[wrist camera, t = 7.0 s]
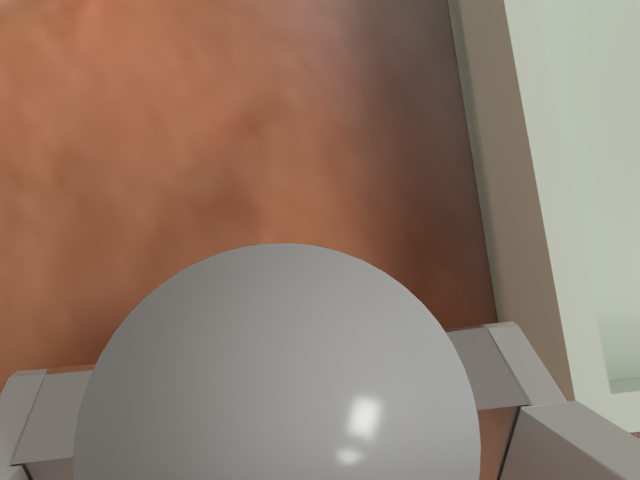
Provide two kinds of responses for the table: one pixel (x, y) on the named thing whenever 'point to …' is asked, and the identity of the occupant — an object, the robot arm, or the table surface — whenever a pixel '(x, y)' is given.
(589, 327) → the sage tray
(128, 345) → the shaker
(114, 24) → the table surface
